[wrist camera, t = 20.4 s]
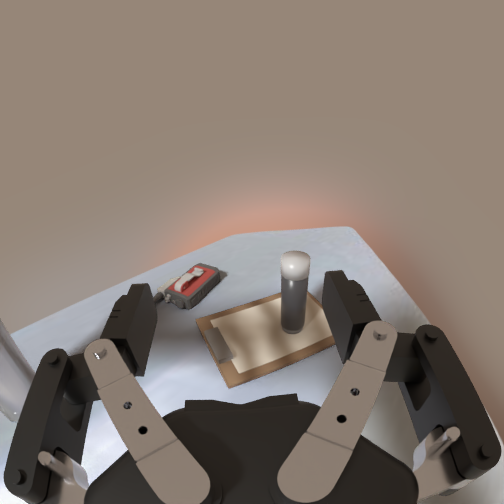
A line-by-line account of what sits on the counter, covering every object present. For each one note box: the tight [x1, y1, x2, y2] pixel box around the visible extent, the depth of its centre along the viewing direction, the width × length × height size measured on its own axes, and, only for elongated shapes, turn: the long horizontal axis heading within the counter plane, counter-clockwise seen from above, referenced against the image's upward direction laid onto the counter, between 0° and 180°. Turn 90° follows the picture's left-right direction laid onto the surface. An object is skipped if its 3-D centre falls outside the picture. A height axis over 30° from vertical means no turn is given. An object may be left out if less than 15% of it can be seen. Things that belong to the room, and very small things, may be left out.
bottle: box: [281, 251, 310, 334], centre depth 46 cm, size 4×4×14 cm
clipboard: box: [196, 291, 335, 388], centre depth 49 cm, size 22×16×2 cm
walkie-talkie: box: [153, 263, 220, 309], centre depth 58 cm, size 9×4×20 cm
